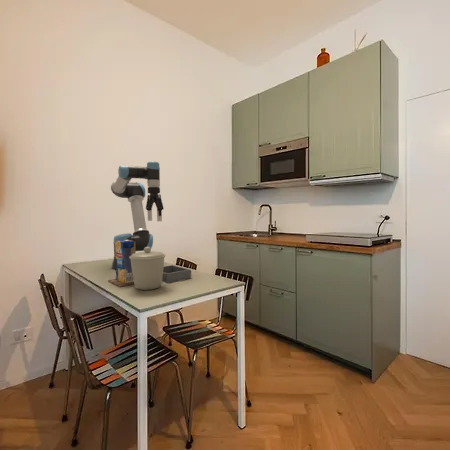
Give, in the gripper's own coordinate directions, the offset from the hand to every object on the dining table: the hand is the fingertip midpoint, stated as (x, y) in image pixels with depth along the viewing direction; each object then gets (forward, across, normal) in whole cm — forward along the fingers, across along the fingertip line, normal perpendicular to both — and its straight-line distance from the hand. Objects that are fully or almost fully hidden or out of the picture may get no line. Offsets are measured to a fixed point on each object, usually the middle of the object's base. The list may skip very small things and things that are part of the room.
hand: (154, 221), depth 183 cm
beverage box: (+32, +11, -23) cm, 41 cm away
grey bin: (+33, +18, 0) cm, 37 cm away
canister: (+33, +30, -19) cm, 48 cm away
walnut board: (+33, +11, -23) cm, 42 cm away
